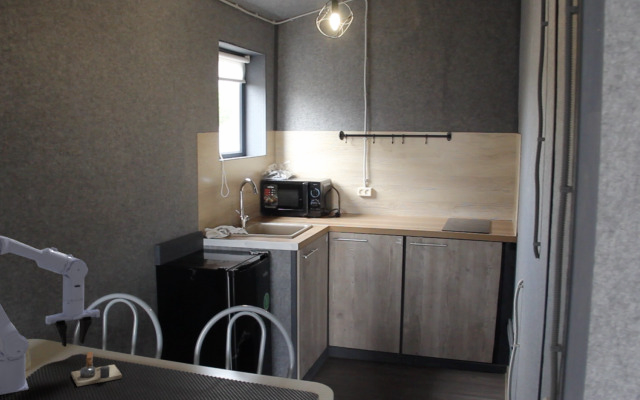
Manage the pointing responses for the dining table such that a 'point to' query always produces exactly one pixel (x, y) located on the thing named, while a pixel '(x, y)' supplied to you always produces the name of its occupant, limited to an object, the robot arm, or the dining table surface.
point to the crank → (88, 367)
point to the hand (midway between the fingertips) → (73, 344)
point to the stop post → (104, 372)
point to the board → (96, 376)
